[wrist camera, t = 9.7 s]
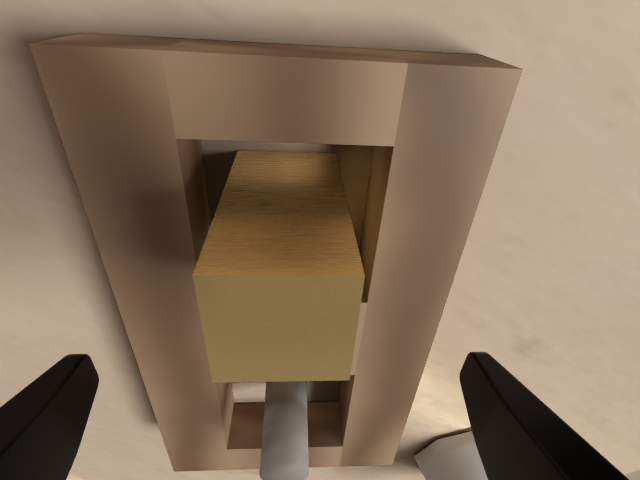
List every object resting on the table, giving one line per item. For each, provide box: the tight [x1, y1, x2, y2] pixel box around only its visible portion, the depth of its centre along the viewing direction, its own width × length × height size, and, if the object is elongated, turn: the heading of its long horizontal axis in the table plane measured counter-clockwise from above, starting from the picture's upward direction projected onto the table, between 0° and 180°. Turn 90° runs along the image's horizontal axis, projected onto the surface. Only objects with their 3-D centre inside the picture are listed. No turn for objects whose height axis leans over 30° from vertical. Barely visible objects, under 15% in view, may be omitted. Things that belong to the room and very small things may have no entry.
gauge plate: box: [28, 33, 523, 480], centre depth 17 cm, size 14×24×6 cm, turn 177°
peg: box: [193, 151, 365, 383], centre depth 13 cm, size 4×4×8 cm
